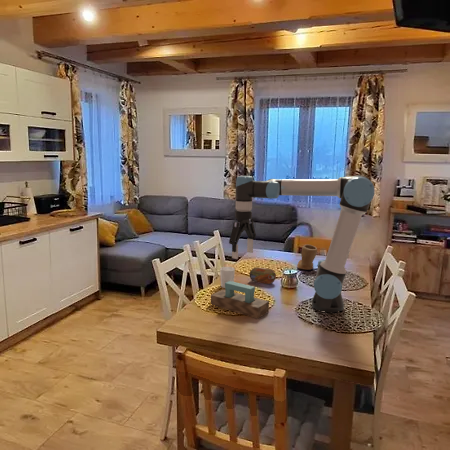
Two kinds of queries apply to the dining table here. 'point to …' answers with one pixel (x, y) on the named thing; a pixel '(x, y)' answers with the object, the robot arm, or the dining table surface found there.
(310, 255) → the stone cup
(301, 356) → the dining table surface
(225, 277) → the white cup
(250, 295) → the clip
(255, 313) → the wooden socket block
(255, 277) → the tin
